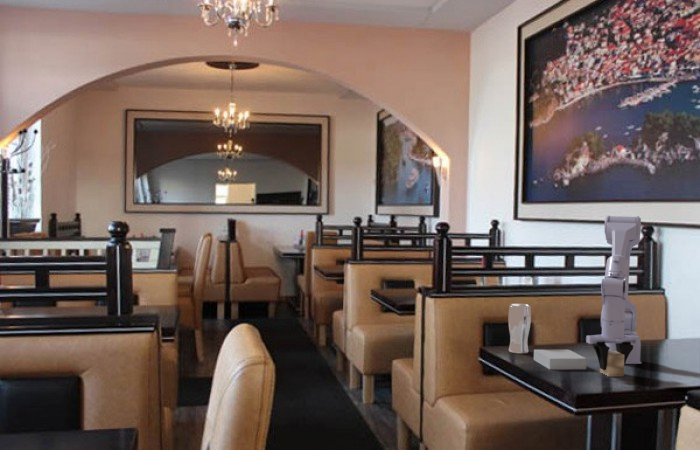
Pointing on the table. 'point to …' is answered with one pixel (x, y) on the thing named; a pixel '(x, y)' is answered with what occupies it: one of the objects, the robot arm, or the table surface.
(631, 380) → the table surface
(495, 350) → the table surface
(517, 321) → the beer glass
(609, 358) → the beech block
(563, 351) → the ceramic box
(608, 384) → the table surface
